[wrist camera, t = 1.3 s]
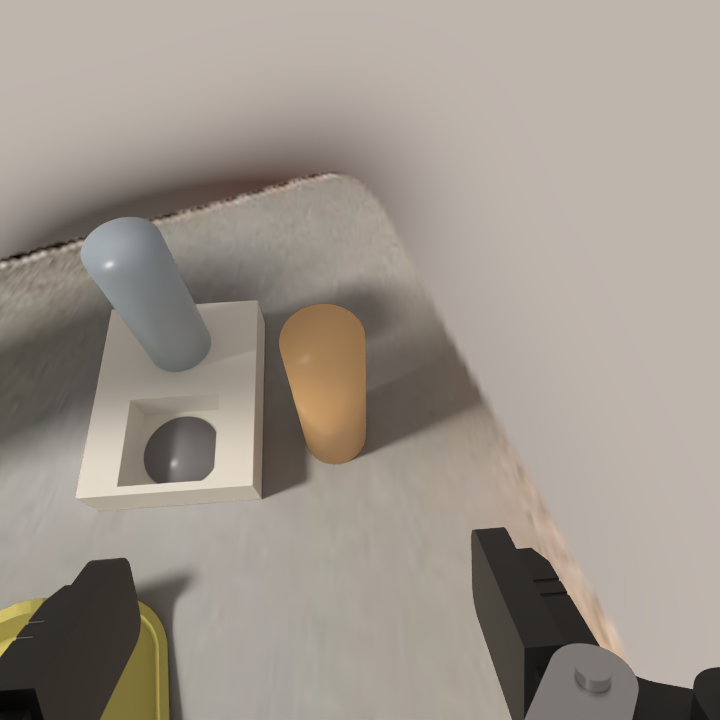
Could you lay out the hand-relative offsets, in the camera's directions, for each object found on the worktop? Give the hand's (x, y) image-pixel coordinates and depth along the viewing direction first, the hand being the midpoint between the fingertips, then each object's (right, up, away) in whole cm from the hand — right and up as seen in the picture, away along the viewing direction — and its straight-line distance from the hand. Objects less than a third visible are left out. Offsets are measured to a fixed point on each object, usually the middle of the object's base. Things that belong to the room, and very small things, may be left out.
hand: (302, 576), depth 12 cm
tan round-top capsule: (0, 0, +23) cm, 23 cm away
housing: (-10, +2, +24) cm, 26 cm away
